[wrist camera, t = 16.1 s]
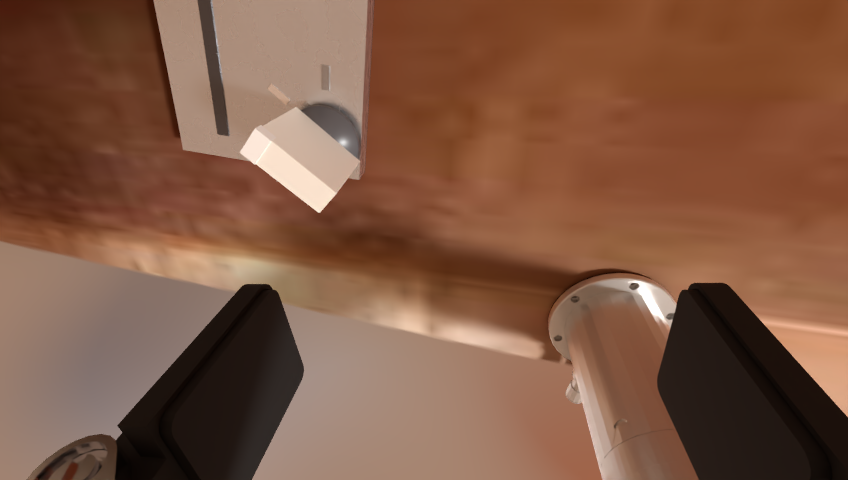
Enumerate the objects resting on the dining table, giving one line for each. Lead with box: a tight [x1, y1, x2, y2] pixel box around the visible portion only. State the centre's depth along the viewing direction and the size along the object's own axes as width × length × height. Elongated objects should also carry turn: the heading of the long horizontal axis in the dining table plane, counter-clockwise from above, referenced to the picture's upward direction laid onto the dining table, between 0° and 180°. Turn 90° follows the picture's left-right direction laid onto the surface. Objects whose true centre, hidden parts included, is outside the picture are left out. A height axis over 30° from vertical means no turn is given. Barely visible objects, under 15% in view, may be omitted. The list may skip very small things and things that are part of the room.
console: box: [154, 0, 374, 180], centre depth 30 cm, size 20×16×2 cm
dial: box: [240, 104, 360, 213], centre depth 30 cm, size 6×6×7 cm
